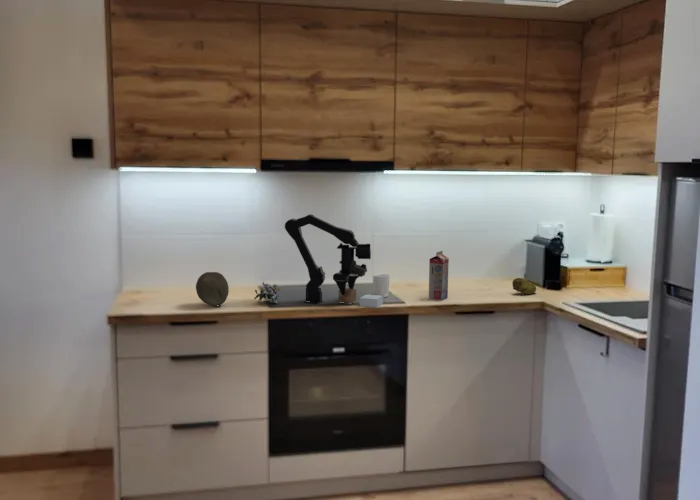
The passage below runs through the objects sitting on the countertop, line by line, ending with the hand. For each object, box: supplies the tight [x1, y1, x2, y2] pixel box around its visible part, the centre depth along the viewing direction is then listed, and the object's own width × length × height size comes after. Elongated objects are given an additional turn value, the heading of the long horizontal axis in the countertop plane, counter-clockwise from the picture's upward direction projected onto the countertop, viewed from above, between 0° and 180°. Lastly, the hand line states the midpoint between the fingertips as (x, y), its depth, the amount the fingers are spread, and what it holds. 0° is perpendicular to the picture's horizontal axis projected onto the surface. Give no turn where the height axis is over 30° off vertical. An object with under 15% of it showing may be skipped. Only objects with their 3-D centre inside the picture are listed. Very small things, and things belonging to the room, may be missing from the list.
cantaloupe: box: [195, 271, 230, 307], centre depth 286 cm, size 14×14×15 cm
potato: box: [512, 277, 537, 295], centre depth 318 cm, size 8×13×8 cm, turn 98°
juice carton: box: [428, 250, 450, 302], centre depth 305 cm, size 7×7×22 cm
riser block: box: [359, 294, 384, 309], centre depth 291 cm, size 8×8×4 cm
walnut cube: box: [338, 287, 357, 304], centre depth 295 cm, size 6×6×6 cm
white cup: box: [372, 273, 390, 298], centre depth 310 cm, size 8×8×10 cm
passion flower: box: [253, 281, 281, 304], centre depth 292 cm, size 11×11×12 cm
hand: (347, 293), depth 295 cm, fingers open, 9 cm apart
